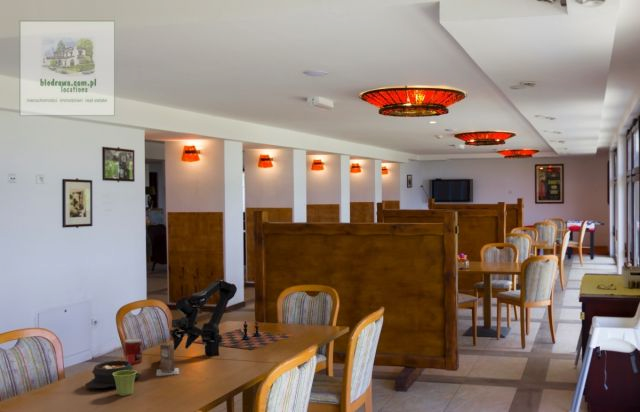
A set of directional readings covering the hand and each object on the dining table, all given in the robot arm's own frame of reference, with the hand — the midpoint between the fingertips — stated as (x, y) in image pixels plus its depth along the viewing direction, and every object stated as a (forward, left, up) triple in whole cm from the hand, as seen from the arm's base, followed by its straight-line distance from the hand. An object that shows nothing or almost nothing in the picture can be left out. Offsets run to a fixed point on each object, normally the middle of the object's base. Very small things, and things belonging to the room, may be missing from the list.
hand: (180, 349), depth 319 cm
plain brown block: (+6, +9, -8) cm, 13 cm away
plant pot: (+23, +38, -8) cm, 45 cm away
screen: (+8, -8, -8) cm, 14 cm away
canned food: (+22, -15, -8) cm, 28 cm away
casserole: (+29, +21, -9) cm, 37 cm away
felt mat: (+6, +9, -8) cm, 13 cm away
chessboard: (-36, -50, -9) cm, 63 cm away
